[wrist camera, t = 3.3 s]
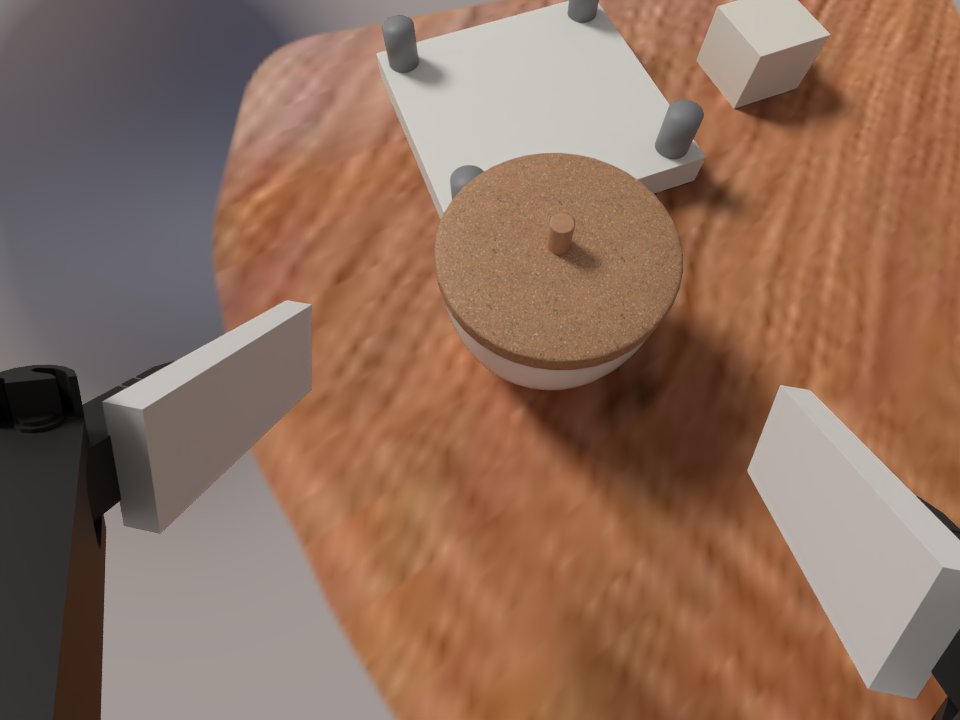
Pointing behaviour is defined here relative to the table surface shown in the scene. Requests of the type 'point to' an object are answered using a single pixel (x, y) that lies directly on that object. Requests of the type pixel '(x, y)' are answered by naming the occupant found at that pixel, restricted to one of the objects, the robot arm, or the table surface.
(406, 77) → the grey stand
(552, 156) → the lidded jar
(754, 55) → the plain off-white block
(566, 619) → the table surface
